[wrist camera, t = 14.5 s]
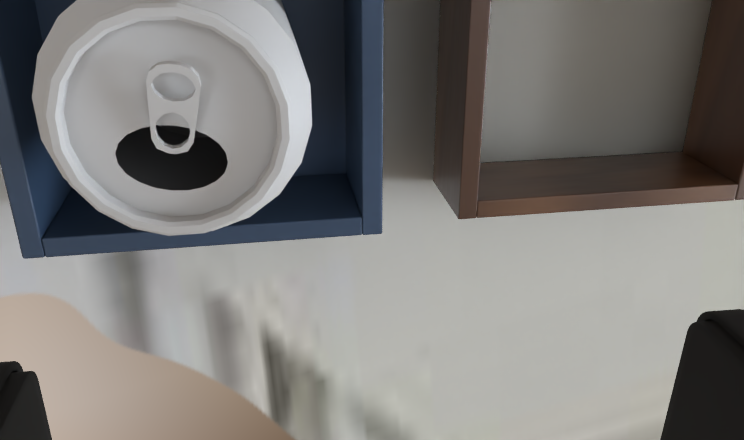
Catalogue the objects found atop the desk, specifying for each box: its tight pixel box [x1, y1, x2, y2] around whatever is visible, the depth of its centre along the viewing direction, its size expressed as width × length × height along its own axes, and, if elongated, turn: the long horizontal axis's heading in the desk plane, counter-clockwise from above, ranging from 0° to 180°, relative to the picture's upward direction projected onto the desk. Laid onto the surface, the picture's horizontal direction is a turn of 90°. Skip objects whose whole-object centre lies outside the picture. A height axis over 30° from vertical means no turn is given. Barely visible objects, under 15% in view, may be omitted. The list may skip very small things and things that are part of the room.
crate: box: [433, 0, 744, 219], centre depth 29 cm, size 14×14×4 cm
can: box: [32, 0, 312, 236], centre depth 23 cm, size 8×8×12 cm
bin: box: [0, 0, 384, 258], centre depth 26 cm, size 14×14×6 cm
